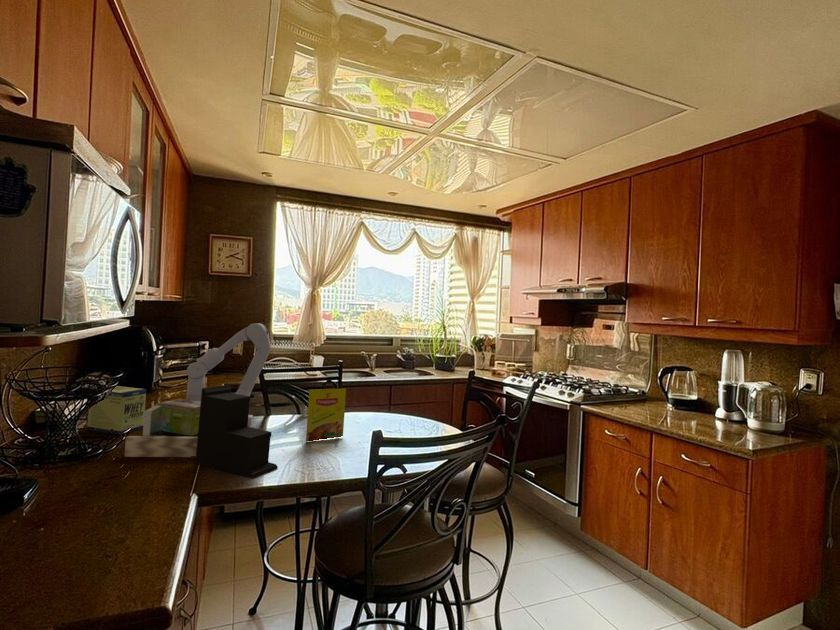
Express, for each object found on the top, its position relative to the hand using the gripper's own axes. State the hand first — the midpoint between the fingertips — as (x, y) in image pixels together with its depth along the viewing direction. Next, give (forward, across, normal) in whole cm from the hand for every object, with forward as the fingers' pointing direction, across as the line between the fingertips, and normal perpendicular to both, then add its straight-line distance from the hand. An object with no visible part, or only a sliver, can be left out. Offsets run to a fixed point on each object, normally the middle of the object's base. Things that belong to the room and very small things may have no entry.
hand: (192, 431), depth 161 cm
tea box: (+3, +8, 0) cm, 9 cm away
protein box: (+3, -10, -30) cm, 32 cm away
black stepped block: (+3, +32, +22) cm, 39 cm away
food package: (+3, +1, +48) cm, 48 cm away
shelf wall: (+2, +22, 0) cm, 22 cm away
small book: (+2, +16, -8) cm, 18 cm away
